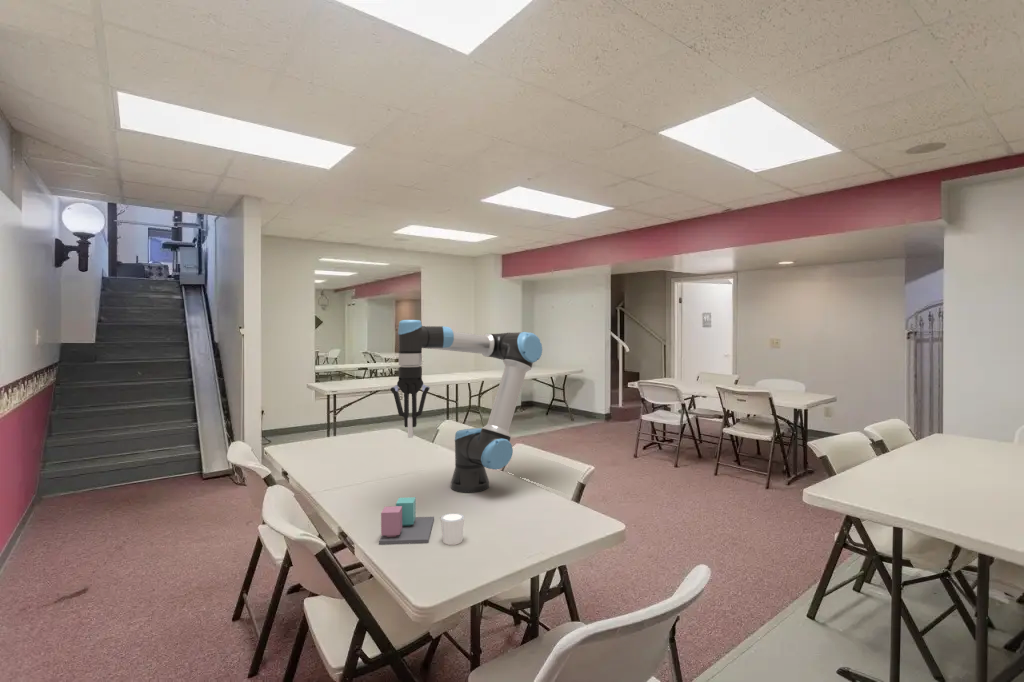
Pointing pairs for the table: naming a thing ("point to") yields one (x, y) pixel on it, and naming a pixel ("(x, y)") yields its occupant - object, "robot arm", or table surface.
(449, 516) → the white cup
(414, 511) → the teal rectangular prism
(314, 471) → the table surface
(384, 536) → the stand
